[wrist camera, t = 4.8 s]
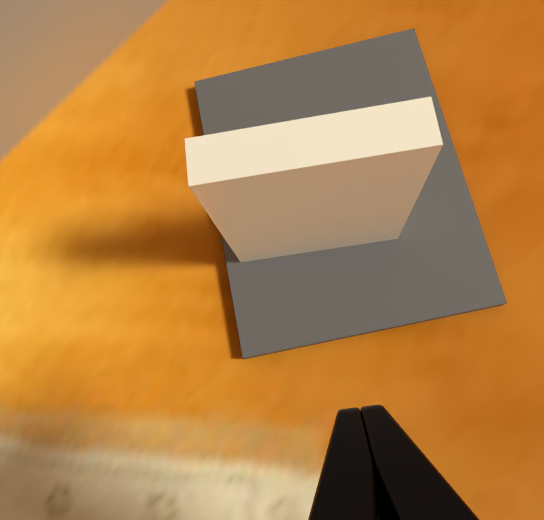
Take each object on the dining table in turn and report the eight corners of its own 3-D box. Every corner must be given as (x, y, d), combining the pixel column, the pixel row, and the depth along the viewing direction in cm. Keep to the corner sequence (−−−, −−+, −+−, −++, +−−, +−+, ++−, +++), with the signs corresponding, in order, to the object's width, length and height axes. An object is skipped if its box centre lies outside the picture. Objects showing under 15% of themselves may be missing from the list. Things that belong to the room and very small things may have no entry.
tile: (397, 238, 22) (443, 144, 14) (240, 262, 23) (188, 186, 14) (390, 205, 23) (430, 93, 14) (237, 229, 23) (184, 136, 15)
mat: (501, 305, 22) (506, 303, 21) (245, 359, 22) (242, 358, 22) (411, 36, 26) (413, 28, 25) (197, 88, 26) (194, 81, 26)
